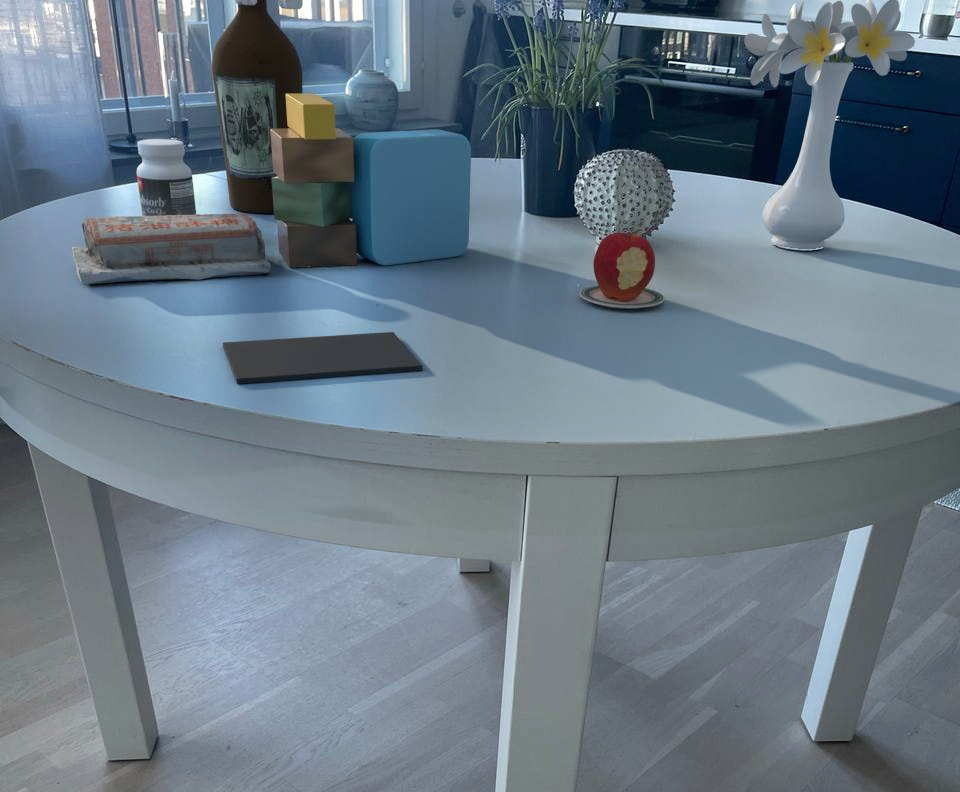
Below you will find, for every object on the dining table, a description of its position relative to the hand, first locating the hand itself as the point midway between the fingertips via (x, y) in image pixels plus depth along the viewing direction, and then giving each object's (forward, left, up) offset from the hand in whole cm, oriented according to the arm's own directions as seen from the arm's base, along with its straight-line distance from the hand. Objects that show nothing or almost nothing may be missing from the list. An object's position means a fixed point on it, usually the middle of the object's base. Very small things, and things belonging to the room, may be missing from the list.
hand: (267, 7), depth 98 cm
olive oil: (+2, +24, -23) cm, 33 cm away
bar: (+3, -5, -10) cm, 12 cm away
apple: (+28, -27, -23) cm, 45 cm away
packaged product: (-12, -7, -23) cm, 27 cm away
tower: (+3, -5, -22) cm, 23 cm away
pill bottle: (-11, +6, -23) cm, 26 cm away
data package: (+13, -6, -23) cm, 27 cm away
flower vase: (+59, -8, -23) cm, 63 cm away
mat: (-3, -38, -22) cm, 44 cm away
